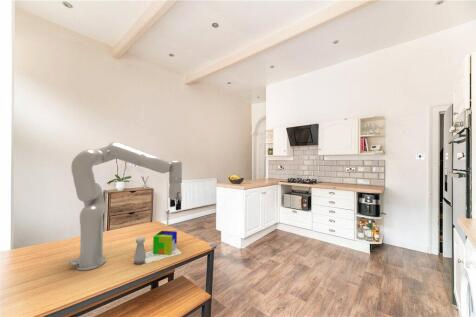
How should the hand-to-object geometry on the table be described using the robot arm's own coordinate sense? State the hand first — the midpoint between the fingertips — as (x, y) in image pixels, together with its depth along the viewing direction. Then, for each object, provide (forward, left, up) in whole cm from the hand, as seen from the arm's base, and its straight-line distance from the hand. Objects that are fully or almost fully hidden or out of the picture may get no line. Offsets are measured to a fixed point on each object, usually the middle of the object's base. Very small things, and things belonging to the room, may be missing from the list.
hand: (175, 208), depth 123 cm
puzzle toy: (-5, +1, -25) cm, 26 cm away
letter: (-8, -1, -25) cm, 27 cm away
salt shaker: (-20, -5, -25) cm, 33 cm away
